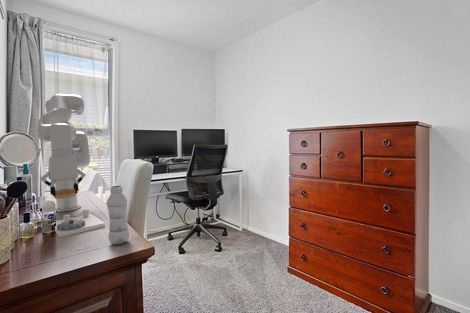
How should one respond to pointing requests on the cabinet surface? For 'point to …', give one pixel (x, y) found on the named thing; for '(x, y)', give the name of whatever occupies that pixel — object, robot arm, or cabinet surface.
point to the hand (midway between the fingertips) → (65, 194)
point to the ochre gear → (65, 193)
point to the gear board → (88, 225)
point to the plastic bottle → (117, 216)
